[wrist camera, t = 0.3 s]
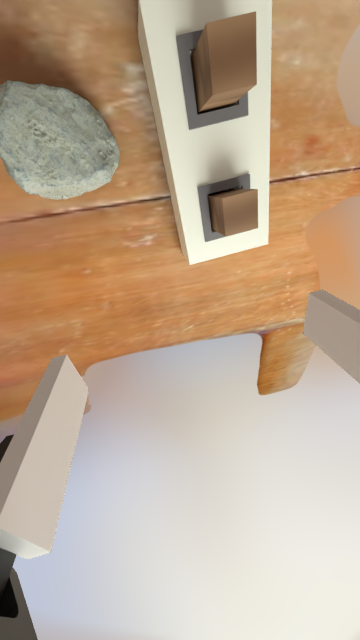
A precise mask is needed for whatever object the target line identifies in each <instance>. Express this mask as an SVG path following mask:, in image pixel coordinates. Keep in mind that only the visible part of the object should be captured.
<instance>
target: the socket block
mask: <svg viewBox="0 0 360 640" xmlns="http://www.w3.org/2000/svg"><path fill="white" fill-rule="evenodd" d="M255 11H256V48H257V85H255V86H254V87H253V88H252V89H251V90H249V91H248V92H247V93H246V94H245V95H243V96H242V97H241V98H240V99H239V100H237V101H236V102H235V103H234V104H233V105H231V106H228V107H224V108H219V110H215V111H211V112H207V113H203V114H199V115H197V108H196V100H195V92H194V83H193V75H192V67H191V57H192V55H193V52H194V50H195V48H196V45H197V43H198V41H199V39H200V36H201V34H202V32H203V29H204V27H205V25H206V23H208V22H212V21H216V20H221V19H225V18H229V17H233V16H238V15H242V14H246V13H251V12H255ZM271 30H272V0H139V2H138V40H139V45H140V50H141V55H142V60H143V64H144V69H145V74H146V79H147V84H148V89H149V94H150V99H151V103H152V108H153V113H154V118H155V123H156V128H157V133H158V138H159V142H160V147H161V152H162V157H163V162H164V167H165V172H166V177H167V181H168V186H169V191H170V196H171V201H172V206H173V211H174V216H175V220H176V225H177V230H178V235H179V240H180V245H181V250H182V254H183V256H184V257H185V259H186V260H187V262H188V263H189V264H190V265H192V264H195V263H199V262H203V261H206V260H210V259H214V258H218V257H221V256H225V255H229V254H232V253H236V252H240V251H244V250H247V249H251V248H255V247H259V246H262V245H266V244H268V221H269V157H270V94H271ZM232 189H258V228H256V229H253V230H249V231H245V232H241V233H238V234H234V235H230V236H226V237H225V236H223V235H222V234H220V233H218V232H216V231H215V230H213V229H211V222H210V214H209V206H208V198H207V194H211V193H215V192H219V191H222V190H225V191H228V190H232Z"/></svg>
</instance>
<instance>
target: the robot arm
mask: <svg viewBox="0 0 360 640" xmlns="http://www.w3.org/2000/svg"><path fill="white" fill-rule="evenodd" d="M303 334H304V335H305V336H306V337H307V338H309V339H310V340H311V341H312V342H313V343H314V344H315V345H316V346H318V347H319V348H320V349H321V350H322V351H324V353H326V354H327V355H328V356H329V357H330V358H331V359H333V360H334V361H335V362H336V363H337V364H338V365H339V366H340V367H342V368H343V369H344V370H345V371H346V372H347V373H348V374H350V375H351V376H352V377H353V378H354V379H355V380H356V381H358V382H359V383H360V310H359V309H357V308H355V307H353V306H351V305H350V304H347V303H346V302H344V301H342V300H340V299H339V298H337V297H335V296H333V295H331V294H330V293H328V292H326V291H324V290H319V291H315V292H311V293H309V297H308V303H307V309H306V316H305V322H304V328H303ZM88 391H89V389H88V388H87V386H86V384H85V383H84V381H83V380H82V378H81V376H80V375H79V373H78V372H77V370H76V369H75V367H74V365H73V364H72V362H71V361H70V359H69V358H68V356H67V355H63V356H59V357H55V358H52V359H51V361H50V363H49V365H48V367H47V369H46V371H45V373H44V375H43V377H42V379H41V381H40V383H39V385H38V387H37V389H36V391H35V393H34V395H33V397H32V399H31V401H30V403H29V405H28V407H27V410H26V412H25V414H24V416H23V418H22V420H21V422H20V424H19V426H18V428H17V430H16V432H15V434H14V435H10V436H6V438H5V439H4V440H3V441H2V442H1V444H0V640H37V636H36V633H35V630H34V627H33V623H32V620H31V617H30V614H29V611H28V607H27V604H26V601H25V598H24V595H23V591H22V588H21V585H20V582H19V578H18V575H17V573H16V571H15V570H14V569H13V568H12V566H13V563H14V560H15V557H16V555H17V556H20V557H22V558H25V559H30V558H33V557H37V556H40V555H43V554H47V553H50V552H51V550H52V546H53V541H54V536H55V533H56V528H57V524H58V520H59V515H60V511H61V507H62V502H63V498H64V493H65V490H66V485H67V481H68V477H69V473H70V468H71V464H72V460H73V455H74V451H75V447H76V443H77V438H78V434H79V430H80V425H81V421H82V416H83V412H84V408H85V404H86V400H87V395H88Z"/></svg>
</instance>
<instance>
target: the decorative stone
mask: <svg viewBox="0 0 360 640" xmlns="http://www.w3.org/2000/svg"><path fill="white" fill-rule="evenodd" d="M0 157H1V159H2V160H3V161H4V164H5V167H6V170H7V173H8V175H9V176H10V177H11V178H12V179H13V180H14V181H15V182H16V183H17V184H18V185H19V186H20V187H21V188H22V189H23V190H24V191H25V192H27V193H29V194H33V195H36V194H38V195H40V196H41V197H44V198H49V199H58V200H59V199H69V198H71V197H75V196H80V195H82V194H83V193H85V192H90V191H92V190H95V189H97V188H99V187H101V186H102V185H104V184H107V183H109V182H110V181H111V179H112V175H113V174H114V173H115V171H116V168H117V167H118V165H119V157H120V150H119V148H118V145H117V143H116V140H115V138H114V136H113V135H112V134H111V132H110V131H109V130H108V128H107V126H106V124H105V122H104V120H103V118H102V116H101V114H100V113H99V112H98V111H97V110H95V109H94V107H93V106H92V105H91V104H90V102H88V101H87V100H85V99H83V98H82V97H81V96H79V95H77V94H75V93H73V92H72V91H70V90H68V89H65V88H61V87H53V86H48V85H45V84H43V83H42V84H27V83H24V82H21V81H9V80H7V81H6V82H5V83H3V84H1V85H0Z"/></svg>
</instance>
